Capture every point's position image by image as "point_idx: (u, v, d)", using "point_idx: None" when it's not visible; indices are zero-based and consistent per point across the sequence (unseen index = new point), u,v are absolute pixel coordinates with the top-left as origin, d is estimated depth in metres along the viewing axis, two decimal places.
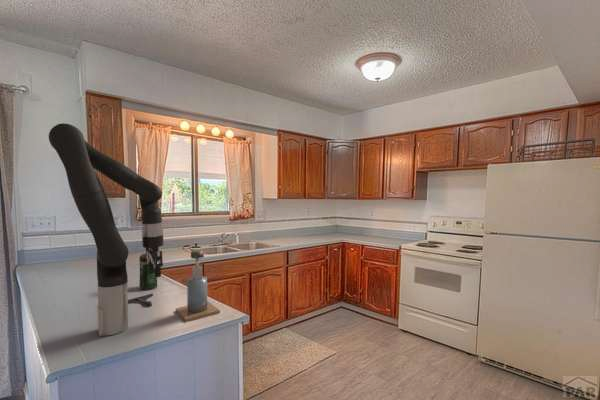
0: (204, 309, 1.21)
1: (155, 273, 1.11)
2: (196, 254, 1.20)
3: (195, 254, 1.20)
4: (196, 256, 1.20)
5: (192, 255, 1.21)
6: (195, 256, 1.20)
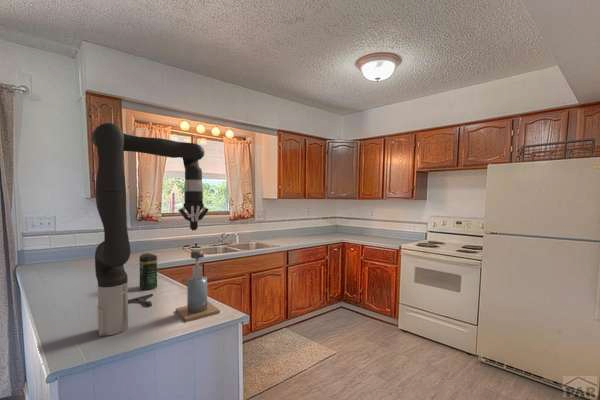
0: (204, 309, 1.21)
1: (196, 226, 1.26)
2: (196, 254, 1.20)
3: (195, 254, 1.20)
4: (196, 256, 1.20)
5: (192, 255, 1.21)
6: (195, 256, 1.20)
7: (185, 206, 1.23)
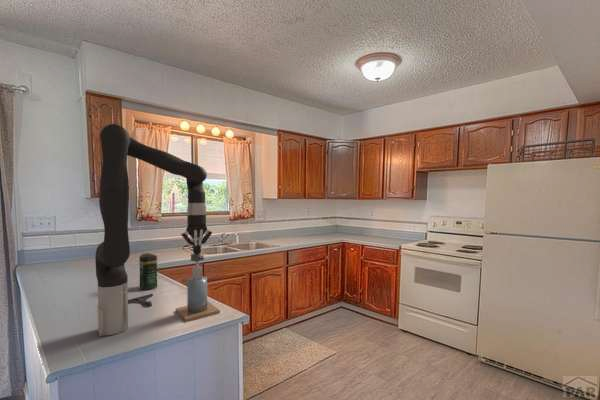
0: (204, 309, 1.21)
1: (199, 250, 1.22)
2: (196, 257, 1.20)
3: (195, 257, 1.20)
4: (196, 259, 1.20)
5: (192, 258, 1.21)
6: (195, 259, 1.20)
7: (188, 230, 1.19)
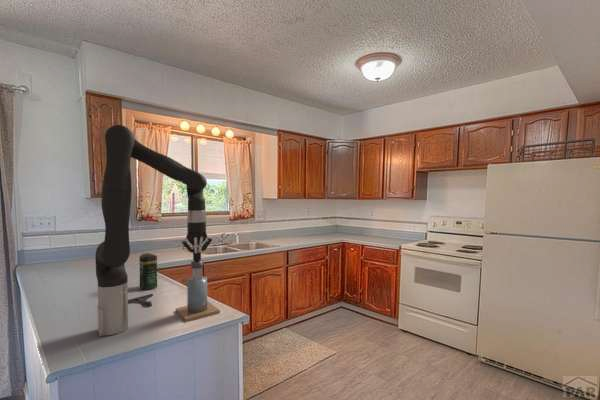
0: (204, 309, 1.21)
1: (199, 257, 1.22)
2: (196, 264, 1.20)
3: (195, 264, 1.20)
4: (196, 266, 1.20)
5: (192, 265, 1.21)
6: (195, 266, 1.20)
7: (188, 238, 1.19)
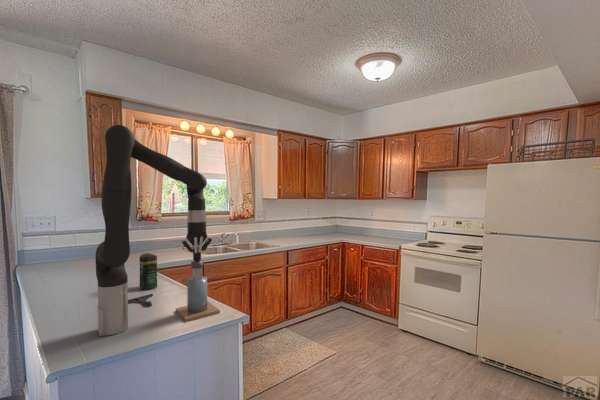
0: (204, 309, 1.21)
1: (199, 257, 1.22)
2: (196, 264, 1.20)
3: (195, 264, 1.20)
4: (196, 266, 1.20)
5: (192, 265, 1.21)
6: (195, 266, 1.20)
7: (188, 238, 1.19)
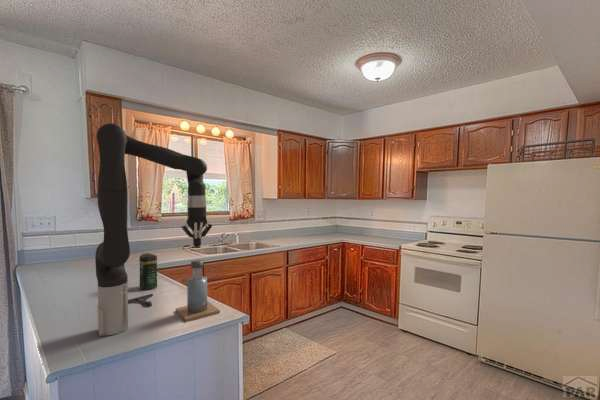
0: (204, 309, 1.21)
1: (199, 243, 1.22)
2: (196, 264, 1.20)
3: (195, 264, 1.20)
4: (196, 266, 1.20)
5: (192, 265, 1.21)
6: (195, 266, 1.20)
7: (188, 223, 1.19)
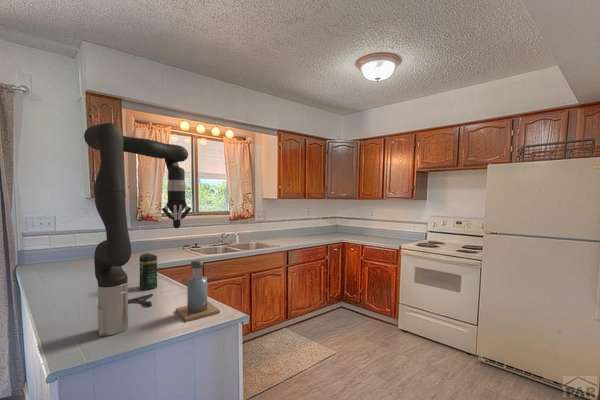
0: (204, 309, 1.21)
1: (179, 224, 1.31)
2: (196, 264, 1.20)
3: (195, 264, 1.20)
4: (196, 266, 1.20)
5: (192, 265, 1.21)
6: (195, 266, 1.20)
7: (168, 205, 1.28)
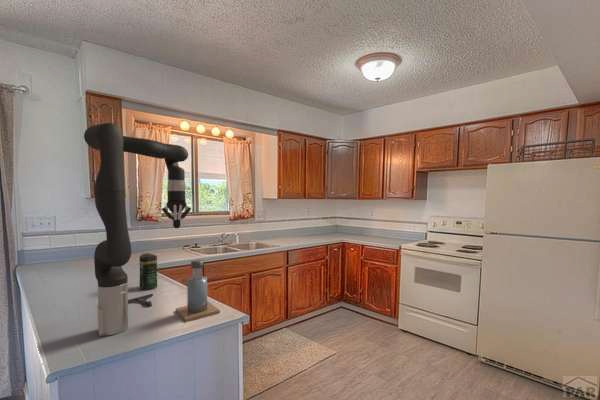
0: (204, 309, 1.21)
1: (179, 224, 1.31)
2: (196, 264, 1.20)
3: (195, 264, 1.20)
4: (196, 266, 1.20)
5: (192, 265, 1.21)
6: (195, 266, 1.20)
7: (168, 205, 1.29)
